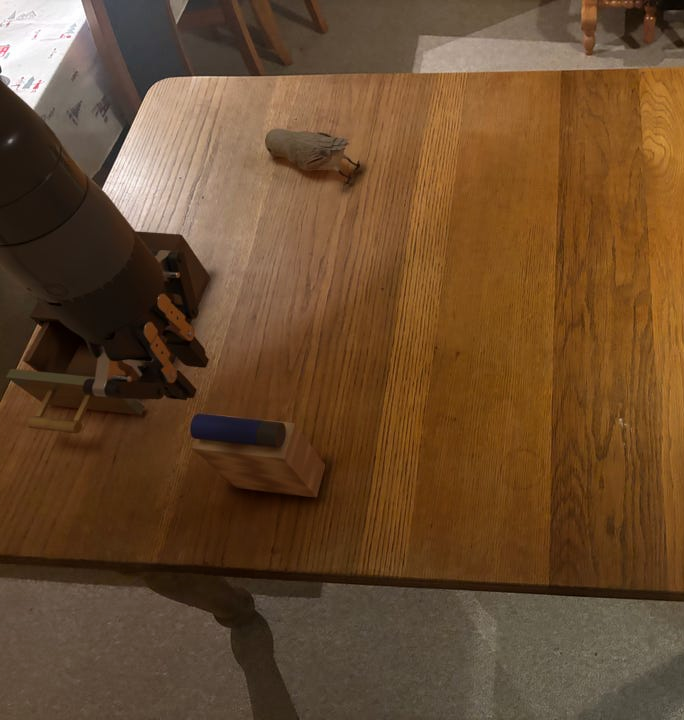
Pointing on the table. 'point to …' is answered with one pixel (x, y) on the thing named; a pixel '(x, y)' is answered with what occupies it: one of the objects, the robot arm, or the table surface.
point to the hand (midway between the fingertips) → (191, 378)
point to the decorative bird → (309, 149)
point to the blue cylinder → (238, 430)
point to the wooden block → (267, 463)
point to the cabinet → (153, 243)
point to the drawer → (65, 378)
